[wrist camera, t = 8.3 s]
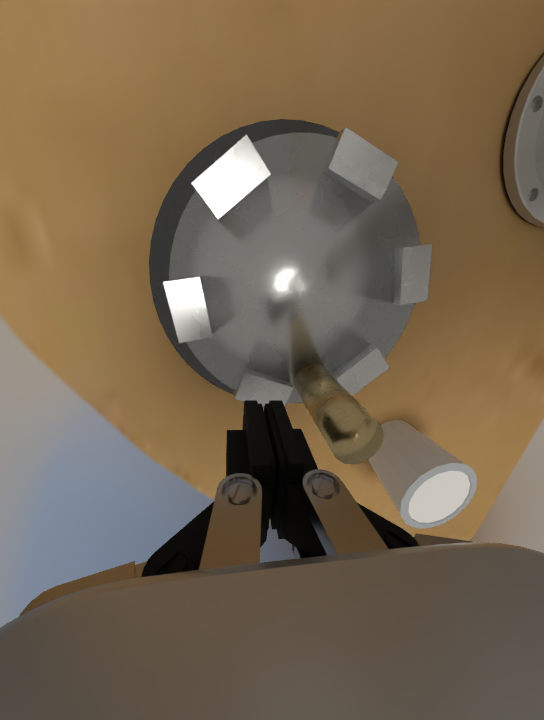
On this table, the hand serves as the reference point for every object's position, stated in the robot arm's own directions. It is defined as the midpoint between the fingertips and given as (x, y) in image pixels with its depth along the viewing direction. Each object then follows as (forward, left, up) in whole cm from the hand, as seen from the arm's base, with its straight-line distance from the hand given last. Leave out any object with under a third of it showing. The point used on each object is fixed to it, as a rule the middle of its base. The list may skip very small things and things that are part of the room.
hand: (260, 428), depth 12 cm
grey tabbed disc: (-2, -6, -8) cm, 10 cm away
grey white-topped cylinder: (-16, +8, -11) cm, 21 cm away
